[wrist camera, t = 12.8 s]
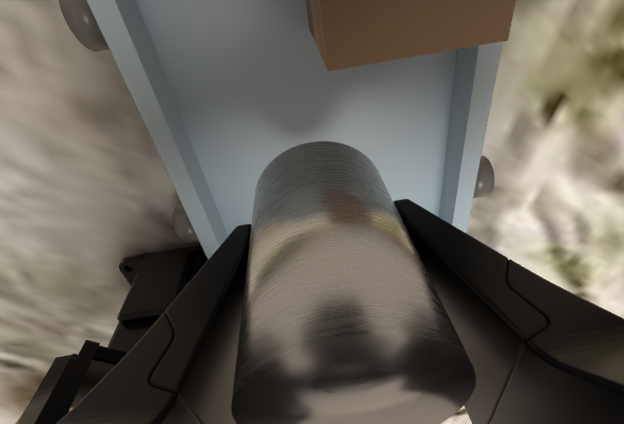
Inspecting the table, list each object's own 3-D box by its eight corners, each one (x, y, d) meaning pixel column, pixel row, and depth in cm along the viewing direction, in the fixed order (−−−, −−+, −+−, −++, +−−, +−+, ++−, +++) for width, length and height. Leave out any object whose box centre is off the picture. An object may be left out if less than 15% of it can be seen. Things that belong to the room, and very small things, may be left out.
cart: (461, 232, 20) (479, 258, 18) (214, 270, 20) (207, 299, 18) (550, -274, 9) (617, -334, 7) (9, -170, 9) (-55, -203, 7)
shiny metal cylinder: (384, 238, 11) (459, 435, 7) (270, 256, 12) (263, 463, 7) (382, 130, 9) (498, 313, 4) (238, 153, 9) (193, 360, 4)
